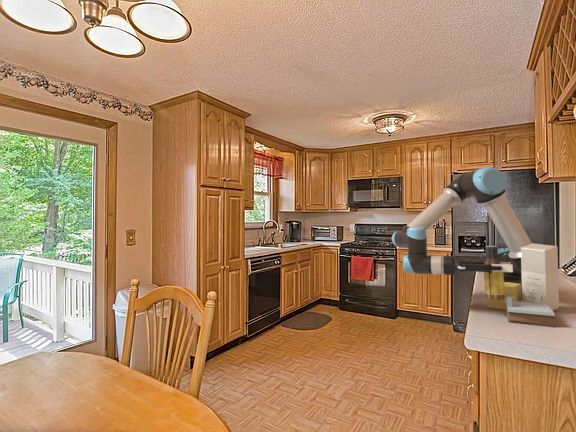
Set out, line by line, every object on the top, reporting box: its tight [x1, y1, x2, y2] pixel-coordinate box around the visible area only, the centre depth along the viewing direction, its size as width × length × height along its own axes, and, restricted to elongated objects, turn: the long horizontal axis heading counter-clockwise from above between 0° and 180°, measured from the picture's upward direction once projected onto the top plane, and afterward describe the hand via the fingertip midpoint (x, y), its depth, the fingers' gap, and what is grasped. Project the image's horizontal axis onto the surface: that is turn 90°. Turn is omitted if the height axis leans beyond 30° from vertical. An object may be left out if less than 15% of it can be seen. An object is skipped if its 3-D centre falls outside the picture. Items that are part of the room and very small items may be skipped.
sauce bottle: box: [483, 245, 505, 300], centre depth 126 cm, size 7×6×20 cm
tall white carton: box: [521, 243, 560, 312], centre depth 132 cm, size 9×9×25 cm
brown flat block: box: [504, 304, 556, 328], centre depth 121 cm, size 14×13×4 cm
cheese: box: [486, 282, 522, 311], centre depth 139 cm, size 10×11×10 cm
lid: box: [505, 294, 556, 317], centre depth 121 cm, size 15×13×4 cm
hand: (511, 267), depth 124 cm, fingers closed on sauce bottle, 6 cm apart
